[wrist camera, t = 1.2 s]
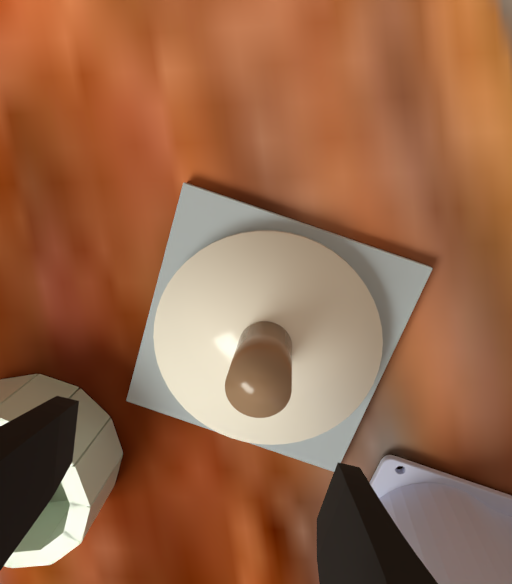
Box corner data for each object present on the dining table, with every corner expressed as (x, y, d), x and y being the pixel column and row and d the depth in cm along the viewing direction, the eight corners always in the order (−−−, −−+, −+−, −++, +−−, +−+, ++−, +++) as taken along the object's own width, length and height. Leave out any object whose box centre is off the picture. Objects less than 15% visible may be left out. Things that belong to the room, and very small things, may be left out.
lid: (417, 274, 19) (456, 307, 14) (330, 461, 22) (339, 537, 18) (190, 197, 19) (157, 205, 14) (137, 396, 22) (95, 454, 18)
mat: (429, 265, 19) (432, 268, 19) (335, 466, 23) (336, 472, 22) (186, 182, 19) (183, 182, 19) (129, 396, 23) (125, 401, 22)
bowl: (136, 406, 23) (104, 453, 19) (103, 525, 26) (69, 588, 22) (-18, 354, 23) (-81, 390, 19) (-35, 479, 26) (-93, 533, 22)
